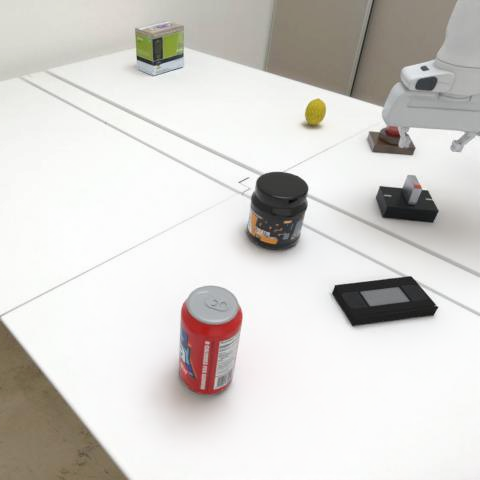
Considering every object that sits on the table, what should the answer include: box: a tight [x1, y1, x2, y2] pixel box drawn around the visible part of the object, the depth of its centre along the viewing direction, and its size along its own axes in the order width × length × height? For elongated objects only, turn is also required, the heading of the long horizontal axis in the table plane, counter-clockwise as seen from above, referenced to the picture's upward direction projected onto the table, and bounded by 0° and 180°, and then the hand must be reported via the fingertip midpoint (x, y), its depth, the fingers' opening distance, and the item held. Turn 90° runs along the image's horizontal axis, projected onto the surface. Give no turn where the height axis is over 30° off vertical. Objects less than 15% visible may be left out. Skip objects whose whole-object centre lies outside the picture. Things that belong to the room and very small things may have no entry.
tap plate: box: [375, 185, 440, 224], centre depth 98 cm, size 10×8×3 cm
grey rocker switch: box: [401, 174, 423, 205], centre depth 95 cm, size 6×2×4 cm, turn 170°
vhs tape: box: [332, 275, 439, 327], centre depth 76 cm, size 8×14×2 cm, turn 99°
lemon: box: [304, 97, 327, 127], centre depth 129 cm, size 6×6×8 cm
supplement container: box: [246, 171, 309, 250], centre depth 88 cm, size 10×10×12 cm
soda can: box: [178, 285, 244, 396], centre depth 62 cm, size 8×8×15 cm
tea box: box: [134, 20, 185, 76], centre depth 165 cm, size 15×10×15 cm, turn 130°
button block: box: [366, 127, 416, 156], centre depth 120 cm, size 10×8×4 cm
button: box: [386, 126, 400, 137], centre depth 118 cm, size 4×4×2 cm
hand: (428, 148), depth 88 cm, fingers open, 8 cm apart
